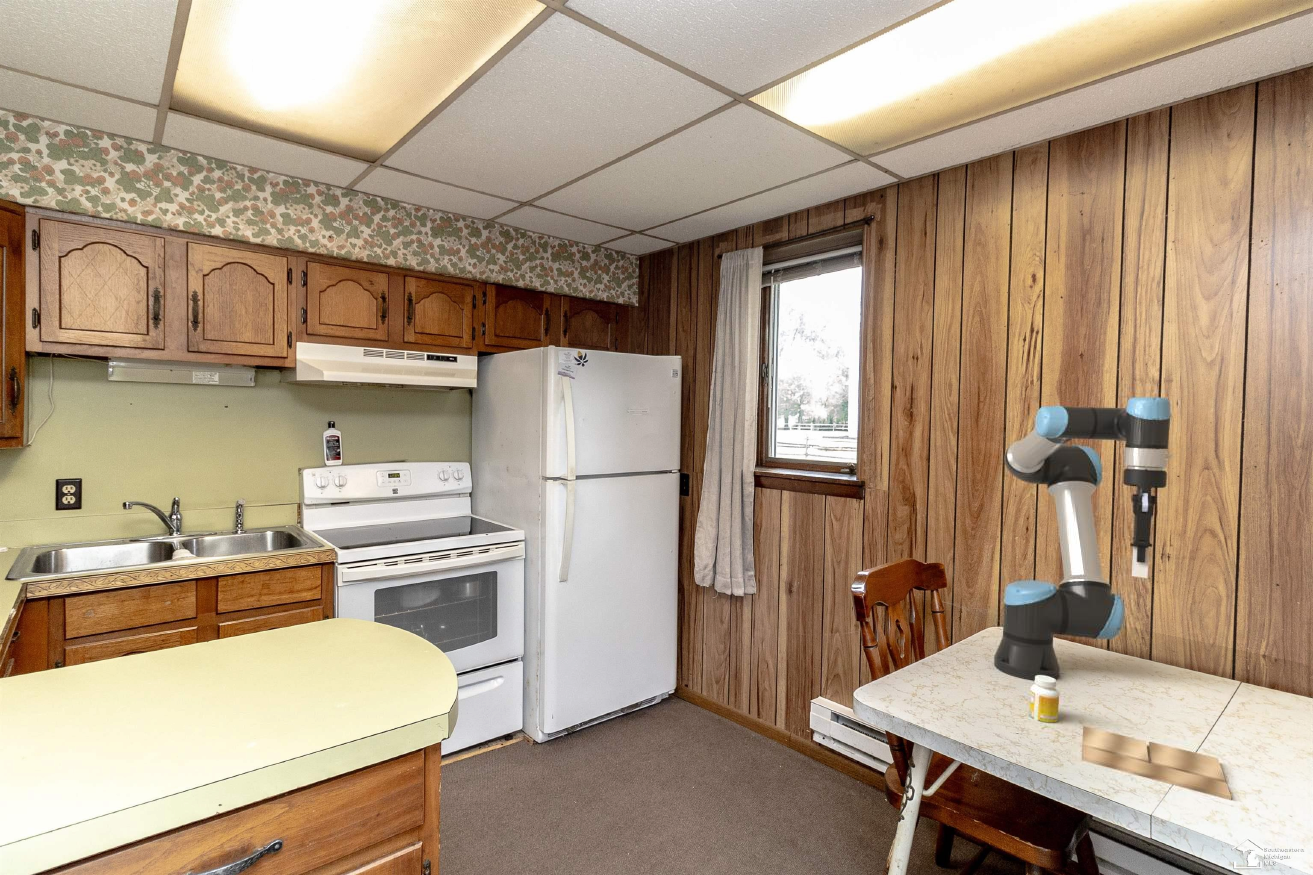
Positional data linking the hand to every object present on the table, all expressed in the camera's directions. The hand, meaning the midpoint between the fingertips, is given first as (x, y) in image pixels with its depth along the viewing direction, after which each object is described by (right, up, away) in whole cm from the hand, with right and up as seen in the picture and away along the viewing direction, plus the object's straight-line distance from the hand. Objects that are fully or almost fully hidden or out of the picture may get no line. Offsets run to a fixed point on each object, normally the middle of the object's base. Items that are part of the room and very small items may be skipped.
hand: (1139, 576), depth 143 cm
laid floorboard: (-14, -32, -22) cm, 42 cm away
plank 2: (-5, -32, -19) cm, 38 cm away
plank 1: (-14, -32, -13) cm, 37 cm away
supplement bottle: (-21, -32, 0) cm, 38 cm away
